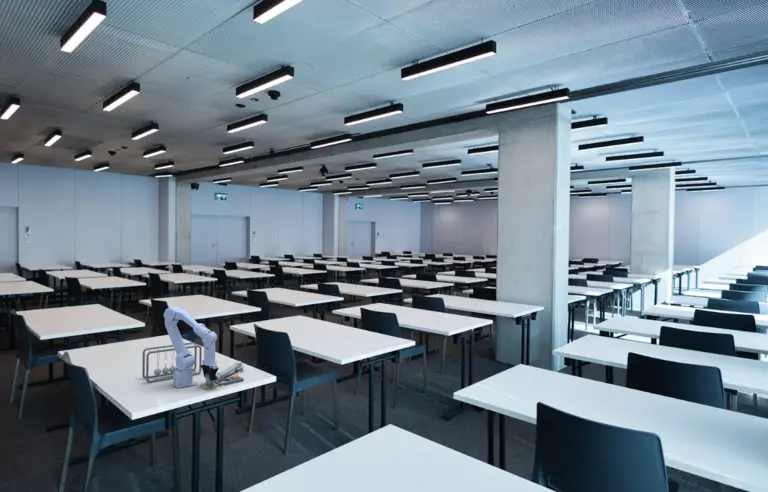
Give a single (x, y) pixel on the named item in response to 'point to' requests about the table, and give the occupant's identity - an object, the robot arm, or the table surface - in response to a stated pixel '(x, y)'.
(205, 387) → the pad
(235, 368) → the pale blue tube
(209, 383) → the cylinder
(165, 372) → the newton's cradle
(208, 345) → the robot arm
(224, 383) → the housing
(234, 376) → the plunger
